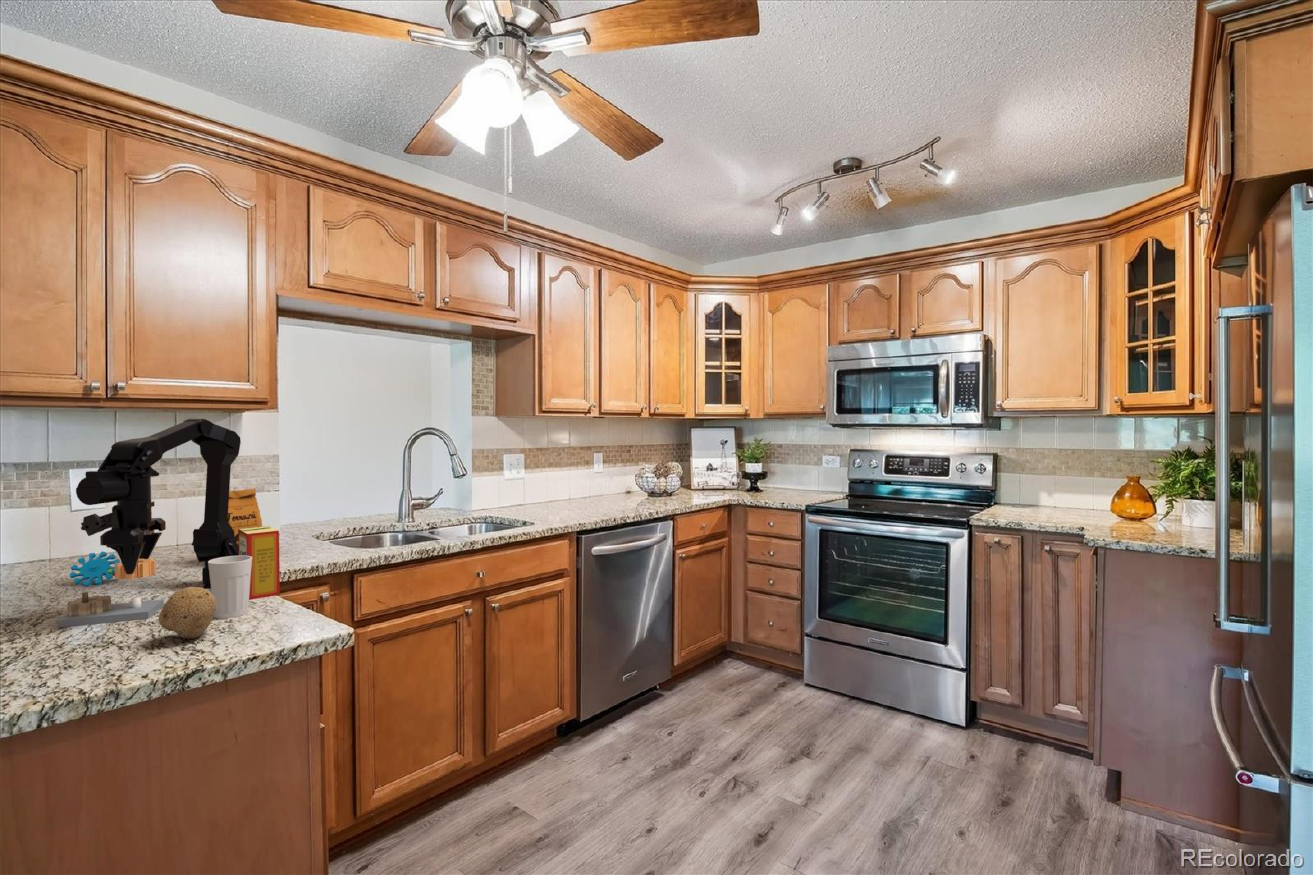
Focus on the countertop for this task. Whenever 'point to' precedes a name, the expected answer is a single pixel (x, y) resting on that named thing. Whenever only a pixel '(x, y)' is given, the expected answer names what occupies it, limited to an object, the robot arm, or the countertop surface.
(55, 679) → the countertop surface
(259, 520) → the coffee package
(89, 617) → the gear board
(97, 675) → the countertop surface
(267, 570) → the baking soda box
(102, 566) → the gear
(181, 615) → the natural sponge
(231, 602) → the cup
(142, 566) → the orange gear
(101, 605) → the birch gear
